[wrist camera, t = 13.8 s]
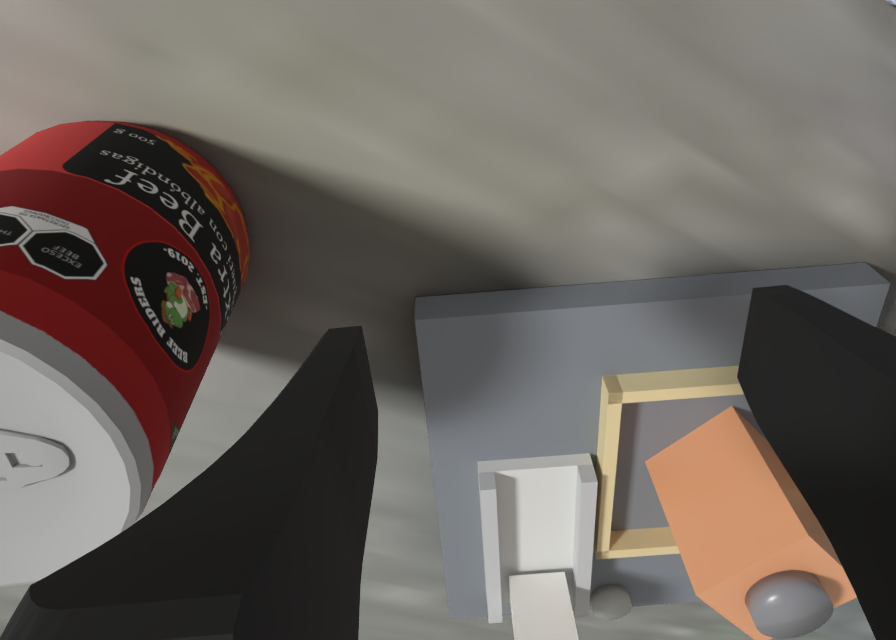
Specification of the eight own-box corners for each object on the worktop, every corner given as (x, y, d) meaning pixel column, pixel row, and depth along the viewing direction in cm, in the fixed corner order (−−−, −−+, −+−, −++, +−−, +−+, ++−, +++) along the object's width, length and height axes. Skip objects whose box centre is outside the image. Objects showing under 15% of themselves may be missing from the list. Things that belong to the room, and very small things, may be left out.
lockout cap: (731, 405, 25) (821, 557, 20) (785, 459, 27) (882, 613, 21) (644, 461, 27) (704, 618, 21) (700, 509, 28) (770, 666, 23)
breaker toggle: (565, 571, 29) (585, 666, 25) (565, 595, 30) (583, 690, 26) (507, 575, 29) (519, 670, 25) (508, 599, 30) (519, 694, 26)
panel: (865, 262, 24) (918, 307, 21) (774, 568, 33) (802, 624, 31) (415, 297, 24) (414, 345, 22) (449, 591, 33) (451, 649, 31)
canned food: (293, 290, 24) (210, 548, 15) (92, 347, 25) (-103, 621, 16) (186, 76, 20) (-22, 245, 11) (-49, 155, 21) (-423, 371, 12)
